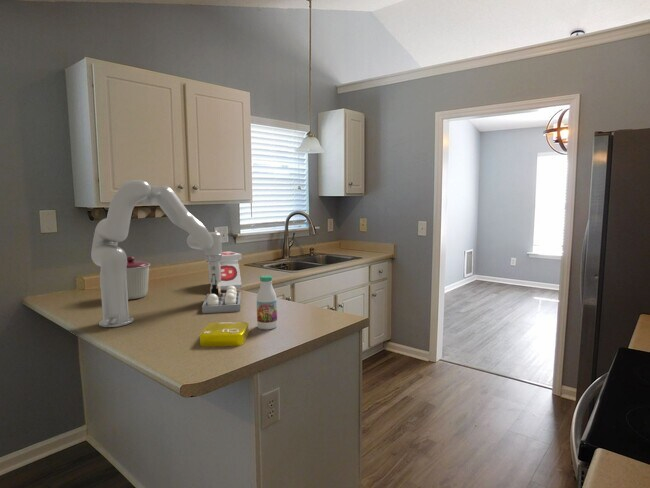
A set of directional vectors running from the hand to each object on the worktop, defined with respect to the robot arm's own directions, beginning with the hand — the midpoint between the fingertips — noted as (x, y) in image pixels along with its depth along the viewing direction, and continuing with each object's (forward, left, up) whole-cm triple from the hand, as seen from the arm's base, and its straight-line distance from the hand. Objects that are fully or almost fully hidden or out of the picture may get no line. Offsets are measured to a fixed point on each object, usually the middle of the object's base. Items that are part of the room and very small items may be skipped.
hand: (215, 295), depth 203 cm
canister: (+18, +42, -3) cm, 46 cm away
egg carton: (-8, -4, -3) cm, 9 cm away
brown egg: (0, 0, -1) cm, 1 cm away
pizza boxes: (+32, -3, -3) cm, 33 cm away
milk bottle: (-45, -23, -3) cm, 50 cm away
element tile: (-55, -7, -4) cm, 56 cm away
